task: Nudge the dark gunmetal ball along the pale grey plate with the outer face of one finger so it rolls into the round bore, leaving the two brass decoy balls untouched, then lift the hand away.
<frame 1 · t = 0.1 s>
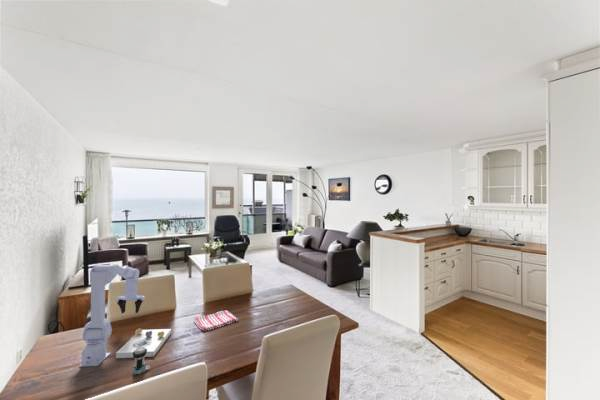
hand: (130, 312, 147), 10 cm above the table, fingers open, 7 cm apart
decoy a: (138, 331, 137), point 4 cm above the table, touching plate
dish towel: (216, 322, 160), on the table
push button: (141, 372, 111), on the table
ball: (148, 333, 135), point 4 cm above the table, touching plate
decoy b: (160, 334, 135), point 4 cm above the table, touching plate
plate: (145, 344, 132), on the table
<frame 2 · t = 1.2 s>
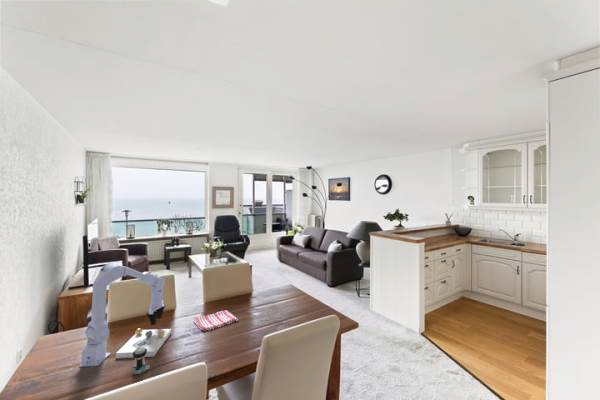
hand: (156, 321, 144), 7 cm above the table, fingers open, 7 cm apart
nothing on the table moved.
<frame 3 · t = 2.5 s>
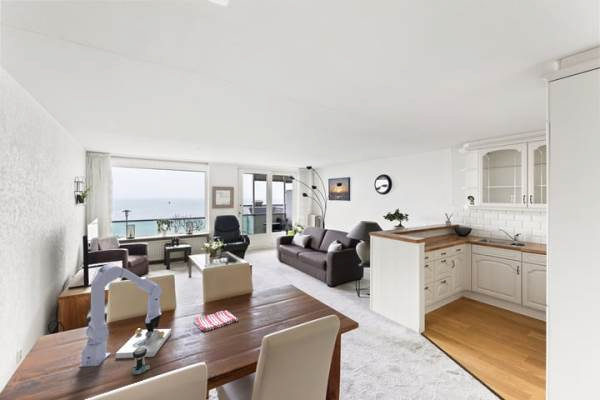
hand: (153, 330, 140), 4 cm above the table, fingers open, 6 cm apart
ball: (148, 334, 135), point 4 cm above the table, tilted 6°, touching gripper, plate
everything else where it was.
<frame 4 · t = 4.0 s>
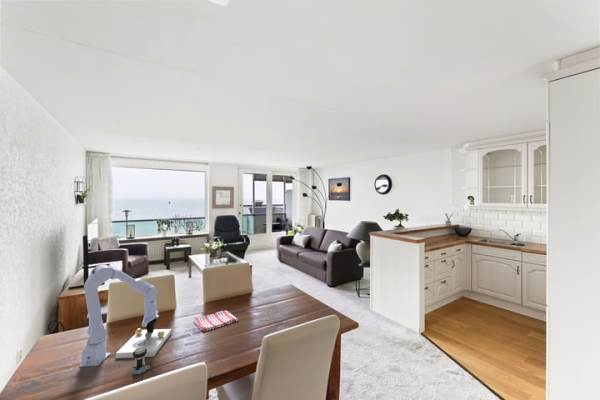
hand: (150, 333, 136), 4 cm above the table, fingers closed
ball: (148, 334, 134), point 4 cm above the table, tilted 36°, touching gripper, plate
everything else where it was.
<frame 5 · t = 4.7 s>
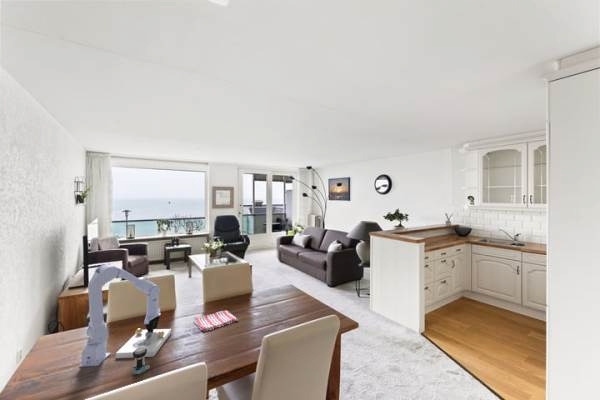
hand: (152, 330, 139), 4 cm above the table, fingers open, 4 cm apart
ball: (148, 334, 135), point 4 cm above the table, tilted 26°, touching gripper, plate
everything else where it was.
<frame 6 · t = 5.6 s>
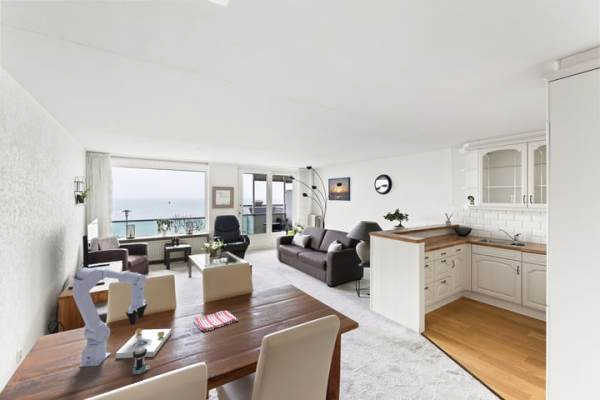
hand: (136, 321, 137), 10 cm above the table, fingers open, 7 cm apart
ball: (141, 345, 128), point 2 cm above the table, tilted 70°
everything else where it was.
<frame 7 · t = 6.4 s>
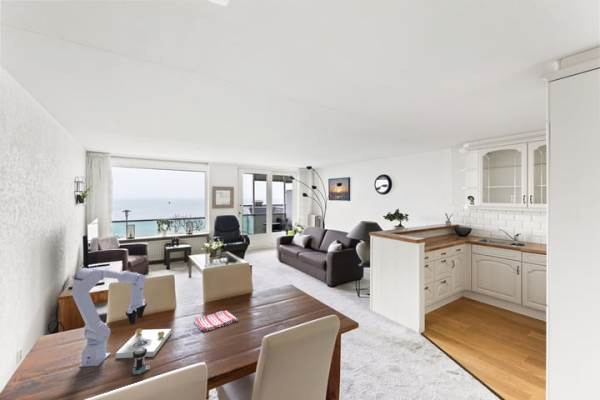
hand: (136, 320, 137), 10 cm above the table, fingers open, 7 cm apart
ball: (142, 345, 128), point 2 cm above the table, tilted 79°
everything else where it was.
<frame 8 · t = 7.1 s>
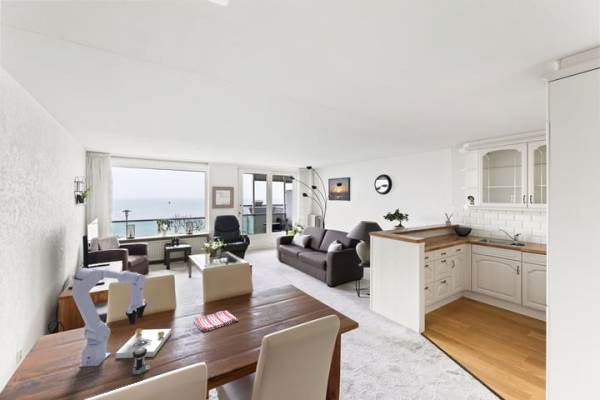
hand: (136, 320, 137), 10 cm above the table, fingers open, 7 cm apart
ball: (142, 345, 129), point 2 cm above the table, tilted 88°
everything else where it was.
at the end: ball 0.1 cm from the target spot in the plate, point 1.6 cm above the plate's base; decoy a moved 0.0 cm from its start; decoy b moved 0.0 cm from its start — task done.
